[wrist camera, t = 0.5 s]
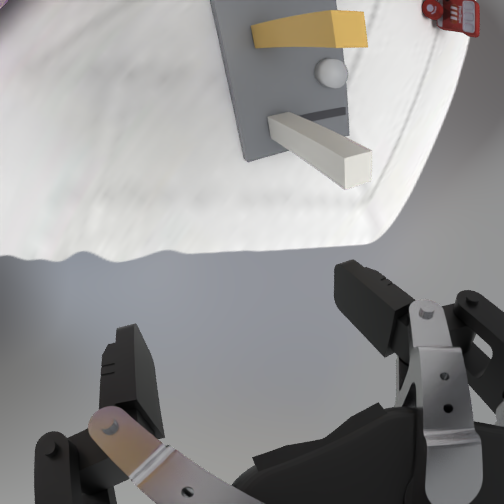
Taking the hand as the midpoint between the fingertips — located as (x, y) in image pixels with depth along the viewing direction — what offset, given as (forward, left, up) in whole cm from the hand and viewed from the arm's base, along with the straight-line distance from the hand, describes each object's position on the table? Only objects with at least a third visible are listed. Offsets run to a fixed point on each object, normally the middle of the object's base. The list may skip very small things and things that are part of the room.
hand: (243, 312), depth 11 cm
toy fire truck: (+10, +51, -29) cm, 59 cm away
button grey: (+8, +20, -28) cm, 35 cm away
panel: (+5, +17, -29) cm, 34 cm away
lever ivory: (+9, +11, -27) cm, 31 cm away
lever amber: (-1, +17, -27) cm, 32 cm away
